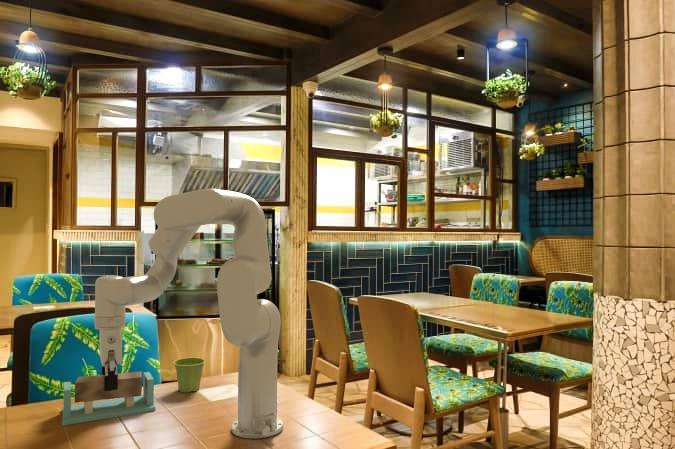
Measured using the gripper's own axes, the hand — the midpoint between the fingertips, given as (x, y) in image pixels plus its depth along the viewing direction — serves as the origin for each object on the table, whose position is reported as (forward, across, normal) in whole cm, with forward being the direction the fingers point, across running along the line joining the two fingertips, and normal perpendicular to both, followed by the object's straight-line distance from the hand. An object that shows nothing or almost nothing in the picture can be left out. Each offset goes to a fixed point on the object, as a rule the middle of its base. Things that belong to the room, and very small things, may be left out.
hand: (109, 385), depth 134 cm
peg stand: (+7, 0, 0) cm, 7 cm away
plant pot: (+7, +8, -23) cm, 25 cm away
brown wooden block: (+3, 0, 0) cm, 3 cm away
